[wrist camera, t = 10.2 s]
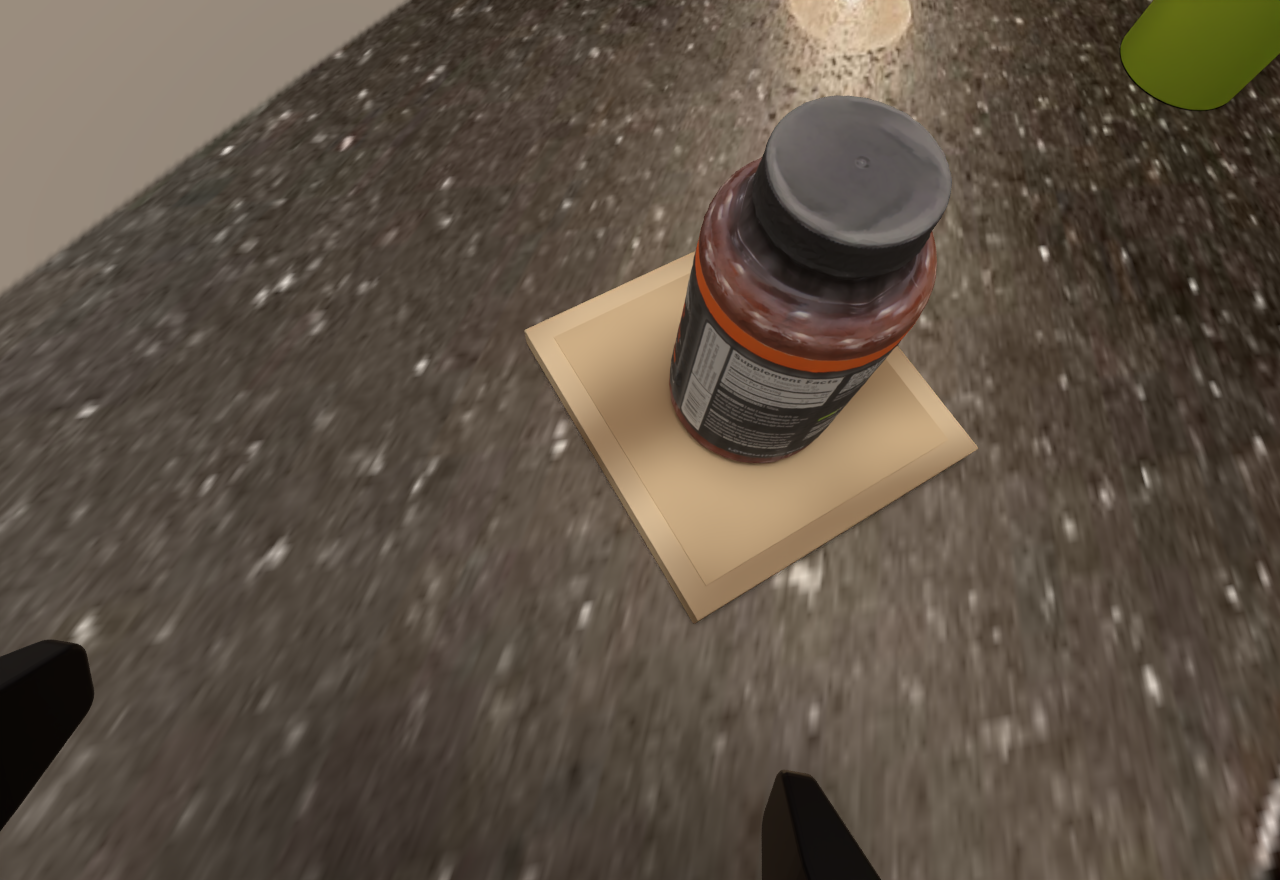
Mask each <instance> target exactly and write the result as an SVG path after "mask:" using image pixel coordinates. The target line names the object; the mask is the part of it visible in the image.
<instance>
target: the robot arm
mask: <svg viewBox="0 0 1280 880" xmlns="http://www.w3.org/2000/svg"><path fill="white" fill-rule="evenodd" d="M93 699H94V687H93V682H92V678H91V673H90V668H89V663H88V658H87V654H86V651H85V649H84V648H83V647H82V646H81V645H79V644H75V643H70V642H64V641H58V640H43V641H40V642H37V643H34V644H32V645H29V646H27V647H24V648H21V649H19V650H16V651H14V652H11V653H9V654H6V655H3V656H1V657H0V831H1V830H2V828H3V827H4V826H5V824H6V823H7V822H8V821H9V819H10V818H11V817H12V815H13V814H14V813H15V811H16V810H17V809H18V807H19V806H20V805H21V803H22V802H23V801H24V799H25V798H26V797H27V795H28V794H29V792H30V791H31V790H32V788H33V787H34V786H35V784H36V783H37V781H38V780H39V779H40V777H41V776H42V775H43V773H44V772H45V770H46V769H47V768H48V766H49V765H50V764H51V762H52V761H53V760H54V758H55V757H56V755H57V754H58V753H59V751H60V750H61V749H62V747H63V746H64V744H65V743H66V742H67V740H68V739H69V738H70V736H71V735H72V733H73V732H74V731H75V729H76V728H77V727H78V725H79V724H80V723H81V721H82V720H83V718H84V717H85V716H86V714H87V713H88V711H89V709H90V707H91V705H92V702H93ZM762 880H881V879H880V877H879V876H878V874H877V873H876V871H875V870H874V868H873V867H872V865H871V864H870V862H869V861H868V859H867V858H866V856H865V854H864V853H863V851H862V850H861V848H860V847H859V845H858V844H857V842H856V841H855V839H854V838H853V836H852V835H851V833H850V832H849V830H848V829H847V827H846V826H845V824H844V823H843V821H842V820H841V818H840V816H839V815H838V813H837V812H836V810H835V809H834V807H833V806H832V804H831V803H830V801H829V800H828V798H827V797H826V795H825V794H824V792H823V791H822V789H821V788H820V786H819V785H818V783H817V781H816V780H815V779H814V778H813V777H812V776H811V775H809V774H806V773H800V772H794V771H789V770H781V771H780V772H779V773H778V774H777V776H776V779H775V782H774V785H773V788H772V791H771V794H770V796H769V799H768V802H767V805H766V808H765V811H764V815H763V821H762Z"/></svg>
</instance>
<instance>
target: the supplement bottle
mask: <svg viewBox="0 0 1280 880" xmlns="http://www.w3.org/2000/svg"><path fill="white" fill-rule="evenodd" d="M951 186H952V178H951V173H950V170H949V165H948V162H947V160H946V157H945V154H944V152H943V151H942V149H941V148H940V146H939V145H938V143H937V142H936V140H935V139H934V138H933V137H932V136H931V134H930V133H929V132H928V131H927V130H926V129H925V128H924V127H923V126H922V125H921V124H920V123H918V122H917V121H915V120H914V119H913V118H912V117H910V116H909V115H908V114H906V113H904V112H903V111H900V110H898V109H896V108H894V107H892V106H889V105H886V104H884V103H881V102H879V101H874V100H871V99H869V98H862V97H854V96H829V97H824V98H819V99H816V100H813V101H809V102H806V103H804V104H803V105H801V106H799V107H797V108H795V109H794V110H792V111H791V112H789V113H788V114H787V115H786V116H785V117H784V118H783V119H782V120H781V121H780V122H779V123H778V125H777V126H776V127H775V129H774V130H773V132H772V134H771V136H770V138H769V140H768V142H767V145H766V149H765V152H764V154H763V157H761V158H760V159H758V160H755V161H752V162H751V163H749V164H747V165H746V166H744V167H742V168H741V169H740V170H738V171H736V172H735V174H733V175H732V176H731V177H730V178H729V179H728V180H727V181H726V182H725V183H724V184H723V185H722V186H721V187H720V189H719V191H718V192H717V194H716V195H715V197H714V198H713V200H712V202H711V203H710V205H709V208H708V211H707V212H706V214H705V216H704V221H703V224H702V227H701V231H700V236H699V240H698V244H697V248H696V252H695V255H694V259H693V265H692V269H691V273H690V278H689V282H688V287H687V293H686V298H685V302H684V306H683V311H682V316H681V320H680V324H679V328H678V332H677V337H676V342H675V345H674V349H673V354H672V358H671V367H670V379H669V386H670V394H671V401H672V404H673V406H674V409H675V412H676V414H677V416H678V417H679V419H680V421H681V422H682V423H683V425H684V426H685V428H686V429H687V430H688V432H689V433H690V434H691V435H692V436H693V437H694V438H695V439H696V440H697V441H698V442H699V443H700V444H701V445H703V446H704V447H706V448H708V449H709V450H710V451H713V452H714V453H716V454H719V455H721V456H723V457H725V458H728V459H732V460H735V461H739V462H746V463H771V462H776V461H779V460H781V459H784V458H788V457H790V456H792V455H794V454H797V453H798V452H800V451H801V450H803V449H805V448H806V447H807V446H809V445H810V444H811V443H812V442H813V441H814V440H815V439H816V438H818V437H819V436H820V434H821V433H822V432H823V431H824V430H825V429H826V428H827V427H828V426H829V424H830V423H831V422H832V421H833V420H834V419H835V417H836V416H837V415H838V414H839V413H840V412H841V410H842V409H843V408H844V407H845V406H846V405H847V404H848V402H849V401H850V400H851V399H852V398H853V397H854V395H855V394H856V393H857V392H858V391H859V390H860V388H861V387H862V386H863V385H864V384H865V383H866V382H867V380H868V379H869V378H870V376H871V375H872V374H873V373H874V372H875V371H876V369H877V368H878V367H879V366H880V365H881V364H882V362H883V361H884V360H885V359H886V358H887V356H888V355H889V354H890V353H891V352H892V351H893V349H894V348H895V347H897V346H898V344H899V343H900V341H901V340H902V338H903V337H904V336H905V335H906V334H907V333H908V331H909V330H910V329H911V328H912V327H913V325H914V324H915V322H916V321H917V319H918V318H919V316H920V314H921V313H922V311H923V309H924V307H925V306H926V304H927V302H928V300H929V297H930V295H931V292H932V290H933V287H934V283H935V278H936V268H937V257H936V246H935V240H934V236H933V232H932V230H933V229H934V227H935V226H936V224H937V223H938V222H939V220H940V219H941V217H942V215H943V213H944V211H945V209H946V207H947V205H948V202H949V198H950V194H951Z"/></svg>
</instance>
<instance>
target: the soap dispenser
mask: <svg viewBox="0 0 1280 880" xmlns="http://www.w3.org/2000/svg"><path fill="white" fill-rule="evenodd" d="M1120 52H1121V59H1122V62H1123V65H1124V67H1125V69H1126V71H1127V72H1128V74H1129V75H1130V77H1131V78H1132V79H1133V80H1134V81H1135V82H1136V83H1137V84H1138V85H1139V86H1140V87H1141V88H1142V89H1143V90H1145V91H1146V92H1147V93H1149V94H1150V95H1152V96H1153V97H1155V98H1157V99H1159V100H1161V101H1163V102H1165V103H1167V104H1170V105H1173V106H1176V107H1180V108H1184V109H1190V110H1209V109H1214V108H1217V107H1220V106H1222V105H1224V104H1226V103H1227V102H1229V101H1230V100H1231V99H1232V98H1233V97H1234V96H1235V95H1236V94H1237V93H1238V92H1239V91H1241V90H1242V89H1243V88H1244V87H1245V86H1246V85H1247V84H1248V83H1249V82H1250V81H1251V80H1252V79H1253V78H1254V77H1255V76H1256V75H1257V74H1258V73H1259V72H1261V71H1262V70H1263V69H1264V68H1265V67H1266V66H1267V65H1268V64H1269V63H1270V62H1271V61H1272V60H1273V59H1274V58H1275V57H1276V56H1277V55H1278V54H1279V53H1280V0H1153V2H1152V3H1151V4H1150V5H1149V7H1148V8H1147V9H1146V10H1145V12H1144V13H1143V14H1142V15H1141V17H1140V18H1139V19H1138V20H1137V22H1136V23H1135V24H1134V25H1133V27H1132V28H1131V29H1130V30H1129V32H1128V33H1127V34H1126V36H1125V37H1124V39H1123V41H1122V44H1121V50H1120Z"/></svg>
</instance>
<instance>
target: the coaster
mask: <svg viewBox="0 0 1280 880" xmlns="http://www.w3.org/2000/svg"><path fill="white" fill-rule="evenodd" d="M695 252H696V251H695ZM695 252H692V253H690V254H688V255H686V256H684V257H682V258H679V259H677V260H675V261H673V262H671V263H669V264H666V265H664V266H662V267H660V268H658V269H656V270H653V271H651V272H649V273H647V274H645V275H643V276H641V277H638V278H636V279H634V280H632V281H630V282H628V283H625V284H623V285H621V286H619V287H617V288H615V289H612V290H610V291H608V292H606V293H604V294H602V295H599V296H597V297H595V298H593V299H591V300H589V301H587V302H584V303H582V304H580V305H578V306H576V307H574V308H571V309H569V310H567V311H565V312H563V313H561V314H558V315H556V316H554V317H552V318H550V319H548V320H545V321H543V322H541V323H539V324H537V325H535V326H532V327H530V328H528V329H526V330H525V336H526V341H527V345H528V346H529V348H530V350H531V351H532V353H533V355H534V356H535V358H536V360H537V361H538V363H539V365H540V366H541V368H542V370H543V371H544V373H545V375H546V377H547V378H548V380H549V382H550V383H551V385H552V387H553V388H554V390H555V392H556V393H557V395H558V397H559V398H560V400H561V402H562V403H563V405H564V407H565V408H566V410H567V412H568V414H569V415H570V417H571V419H572V420H573V422H574V424H575V425H576V427H577V429H578V430H579V432H580V434H581V435H582V437H583V439H584V440H585V442H586V444H587V445H588V447H589V449H590V451H591V452H592V454H593V456H594V457H595V459H596V461H597V462H598V464H599V466H600V467H601V469H602V471H603V472H604V474H605V476H606V477H607V479H608V481H609V482H610V484H611V486H612V488H613V489H614V491H615V493H616V494H617V496H618V498H619V499H620V501H621V503H622V504H623V506H624V508H625V509H626V511H627V513H628V514H629V516H630V518H631V519H632V521H633V523H634V525H635V526H636V528H637V530H638V531H639V533H640V535H641V536H642V538H643V540H644V541H645V543H646V545H647V546H648V548H649V550H650V551H651V553H652V555H653V556H654V558H655V560H656V562H657V563H658V565H659V567H660V568H661V570H662V572H663V573H664V575H665V577H666V578H667V580H668V582H669V583H670V585H671V587H672V588H673V590H674V592H675V594H676V595H677V597H678V599H679V600H680V602H681V604H682V605H683V607H684V609H685V610H686V612H687V614H688V615H689V617H690V619H691V620H692V622H693V624H695V623H696V622H698V621H700V620H701V619H703V618H704V617H706V616H708V615H709V614H711V613H713V612H714V611H716V610H717V609H719V608H721V607H722V606H724V605H726V604H727V603H729V602H730V601H732V600H734V599H735V598H737V597H739V596H740V595H742V594H743V593H745V592H747V591H748V590H750V589H752V588H753V587H755V586H757V585H758V584H760V583H761V582H763V581H765V580H766V579H768V578H770V577H771V576H773V575H774V574H776V573H778V572H779V571H781V570H783V569H784V568H786V567H787V566H789V565H791V564H792V563H794V562H796V561H797V560H799V559H800V558H802V557H804V556H805V555H807V554H809V553H810V552H812V551H813V550H815V549H817V548H818V547H820V546H822V545H823V544H825V543H826V542H828V541H830V540H831V539H833V538H835V537H836V536H838V535H840V534H841V533H843V532H844V531H846V530H848V529H849V528H851V527H853V526H854V525H856V524H857V523H859V522H861V521H862V520H864V519H866V518H867V517H869V516H870V515H872V514H874V513H875V512H877V511H879V510H880V509H882V508H883V507H885V506H887V505H888V504H890V503H892V502H893V501H895V500H896V499H898V498H900V497H901V496H903V495H905V494H906V493H908V492H909V491H911V490H913V489H914V488H916V487H918V486H919V485H921V484H922V483H924V482H926V481H927V480H929V479H931V478H932V477H934V476H936V475H937V474H939V473H940V472H942V471H944V470H945V469H947V468H949V467H950V466H952V465H953V464H955V463H957V462H958V461H960V460H962V459H963V458H965V457H966V456H968V455H969V454H971V453H972V452H974V451H975V450H977V449H978V447H977V446H976V445H975V443H974V442H973V441H972V440H971V438H970V437H969V436H968V434H967V433H966V432H965V431H964V429H963V428H962V427H961V426H960V424H959V423H958V422H957V420H956V419H955V418H954V417H953V415H952V414H951V413H950V412H949V410H948V409H947V408H946V407H945V405H944V404H943V403H942V401H941V400H940V399H939V398H938V396H937V395H936V394H935V393H934V391H933V390H932V389H931V388H930V386H929V385H928V384H927V382H926V381H925V380H924V379H923V377H922V376H921V375H920V374H919V372H918V371H917V370H916V369H915V367H914V366H913V365H912V363H911V362H910V361H909V360H908V358H907V357H906V356H905V355H904V353H903V352H902V351H901V350H900V348H899V347H898V346H897V347H895V348H894V349H893V351H892V352H891V353H890V354H889V355H888V356H887V358H886V359H885V360H884V361H883V362H882V364H881V365H880V366H879V367H878V368H877V369H876V371H875V372H874V373H873V374H872V375H871V376H870V378H869V379H868V380H867V382H866V383H865V384H864V385H863V386H862V387H861V388H860V390H859V391H858V392H857V393H856V394H855V395H854V397H853V398H852V399H851V400H850V401H849V402H848V404H847V405H846V406H845V407H844V408H843V409H842V410H841V412H840V413H839V414H838V415H837V416H836V417H835V419H834V420H833V421H832V422H831V423H830V424H829V426H828V427H827V428H826V429H825V430H824V431H823V432H822V433H821V434H820V436H819V437H818V438H816V439H815V440H814V441H813V442H812V443H811V444H810V445H809V446H807V447H806V448H805V449H803V450H801V451H800V452H798V453H797V454H794V455H792V456H790V457H788V458H784V459H781V460H779V461H776V462H771V463H746V462H739V461H735V460H732V459H728V458H725V457H723V456H721V455H719V454H716V453H714V452H713V451H710V450H709V449H708V448H706V447H704V446H703V445H701V444H700V443H699V442H698V441H697V440H696V439H695V438H694V437H693V436H692V435H691V434H690V433H689V432H688V430H687V429H686V428H685V426H684V425H683V423H682V422H681V421H680V419H679V417H678V416H677V414H676V412H675V409H674V406H673V404H672V401H671V394H670V386H669V379H670V367H671V358H672V354H673V349H674V345H675V342H676V337H677V332H678V328H679V324H680V320H681V316H682V311H683V306H684V302H685V298H686V293H687V287H688V282H689V278H690V273H691V269H692V265H693V259H694V255H695Z"/></svg>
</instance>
